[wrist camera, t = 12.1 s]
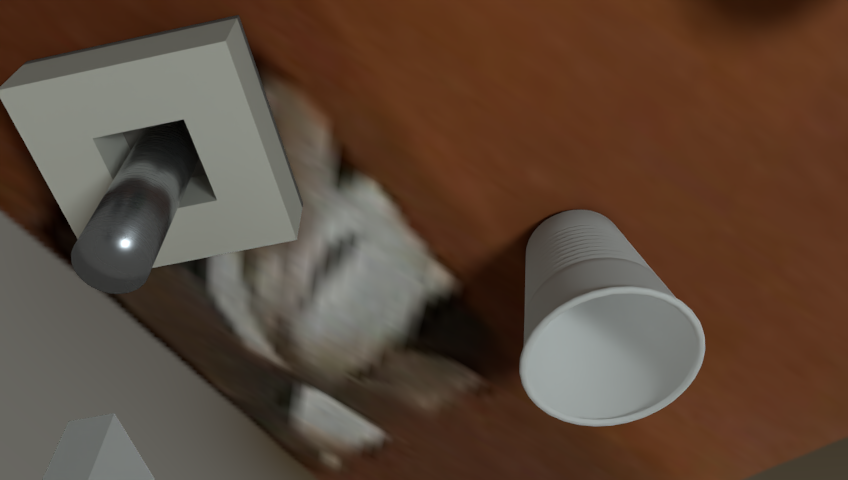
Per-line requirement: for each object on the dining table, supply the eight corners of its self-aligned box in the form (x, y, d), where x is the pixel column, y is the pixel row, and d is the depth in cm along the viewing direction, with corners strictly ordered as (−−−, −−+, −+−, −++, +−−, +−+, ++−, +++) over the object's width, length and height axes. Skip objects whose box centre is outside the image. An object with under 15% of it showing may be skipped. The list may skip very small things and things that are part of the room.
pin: (132, 122, 44) (57, 239, 34) (189, 110, 44) (131, 225, 34) (155, 173, 46) (90, 299, 36) (210, 163, 46) (161, 286, 36)
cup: (574, 328, 55) (611, 451, 45) (464, 260, 51) (481, 378, 42) (680, 232, 50) (745, 346, 41) (569, 150, 47) (613, 255, 38)
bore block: (26, 61, 42) (-5, 90, 39) (238, 14, 41) (225, 40, 38) (118, 240, 49) (98, 278, 46) (303, 203, 48) (296, 239, 45)
